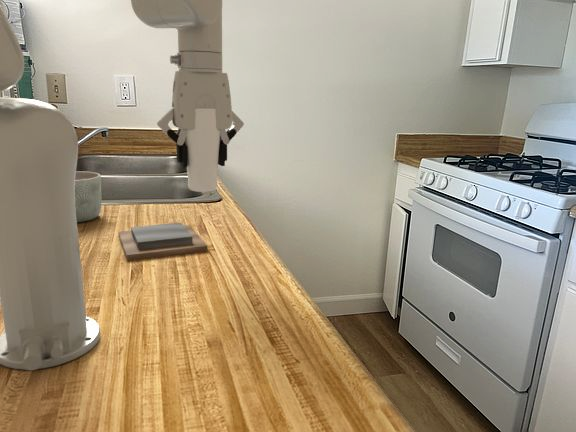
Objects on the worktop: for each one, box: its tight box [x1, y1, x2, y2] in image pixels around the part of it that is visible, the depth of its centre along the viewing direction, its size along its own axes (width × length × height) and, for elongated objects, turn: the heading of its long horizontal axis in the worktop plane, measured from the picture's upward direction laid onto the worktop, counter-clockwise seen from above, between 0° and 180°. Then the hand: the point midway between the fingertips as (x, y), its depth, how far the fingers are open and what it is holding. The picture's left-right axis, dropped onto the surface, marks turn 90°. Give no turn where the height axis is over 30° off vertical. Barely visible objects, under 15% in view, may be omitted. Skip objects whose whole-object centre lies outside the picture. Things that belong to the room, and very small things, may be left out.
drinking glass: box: [185, 108, 220, 193], centre depth 88 cm, size 7×7×15 cm
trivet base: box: [117, 222, 208, 262], centre depth 103 cm, size 16×16×3 cm
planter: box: [75, 170, 102, 223], centre depth 119 cm, size 12×12×11 cm
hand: (202, 164), depth 88 cm, fingers closed on drinking glass, 6 cm apart
